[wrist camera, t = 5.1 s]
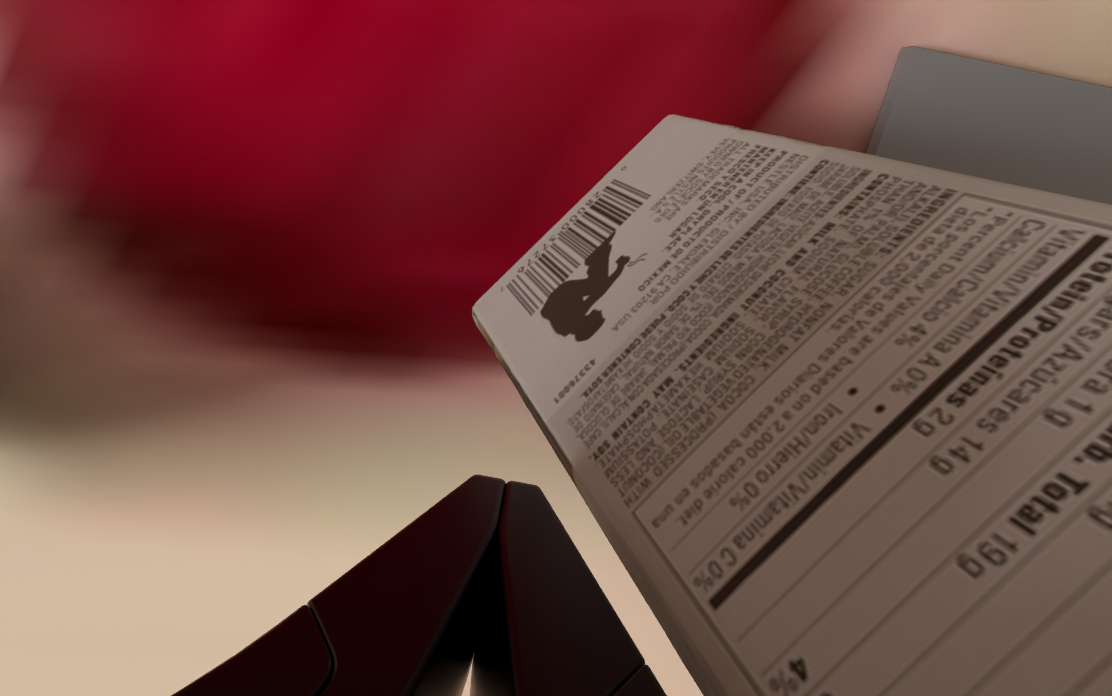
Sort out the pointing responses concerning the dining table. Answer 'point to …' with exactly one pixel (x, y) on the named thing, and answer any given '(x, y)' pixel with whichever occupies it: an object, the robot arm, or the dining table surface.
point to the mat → (997, 124)
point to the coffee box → (833, 412)
